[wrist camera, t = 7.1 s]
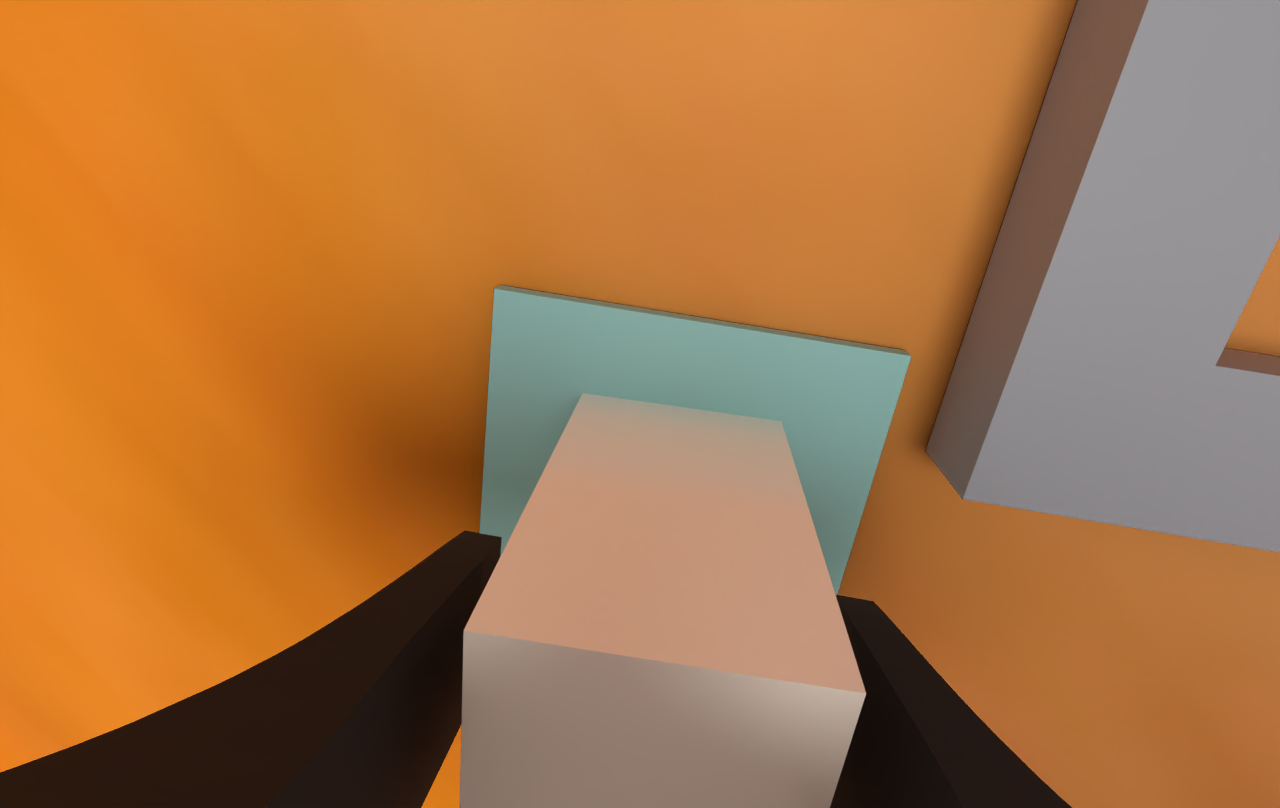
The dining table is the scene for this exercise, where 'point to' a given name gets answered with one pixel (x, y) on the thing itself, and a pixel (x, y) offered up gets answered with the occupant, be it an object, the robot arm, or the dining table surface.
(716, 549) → the block
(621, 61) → the dining table surface
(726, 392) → the pad
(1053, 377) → the pocket board
